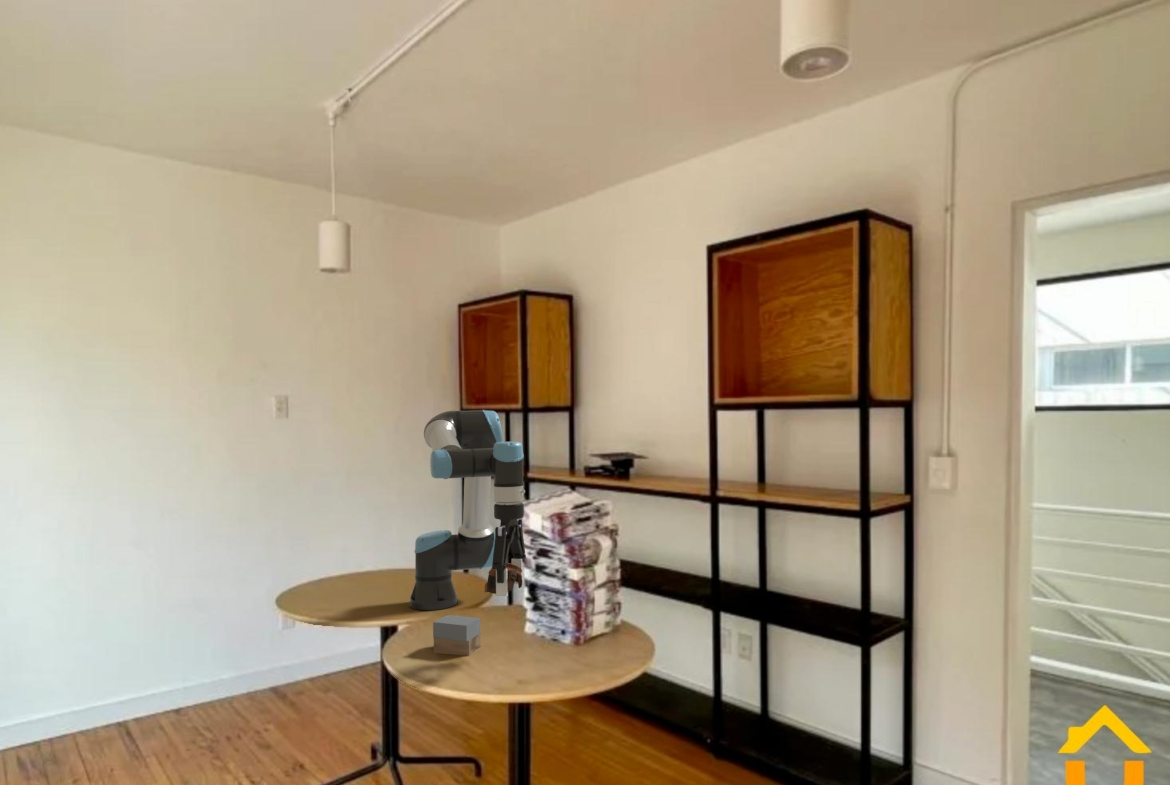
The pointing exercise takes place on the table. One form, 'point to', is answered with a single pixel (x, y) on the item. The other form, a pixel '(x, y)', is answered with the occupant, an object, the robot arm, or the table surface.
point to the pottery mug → (512, 576)
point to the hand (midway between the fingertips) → (509, 589)
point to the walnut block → (456, 646)
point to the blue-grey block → (456, 628)
